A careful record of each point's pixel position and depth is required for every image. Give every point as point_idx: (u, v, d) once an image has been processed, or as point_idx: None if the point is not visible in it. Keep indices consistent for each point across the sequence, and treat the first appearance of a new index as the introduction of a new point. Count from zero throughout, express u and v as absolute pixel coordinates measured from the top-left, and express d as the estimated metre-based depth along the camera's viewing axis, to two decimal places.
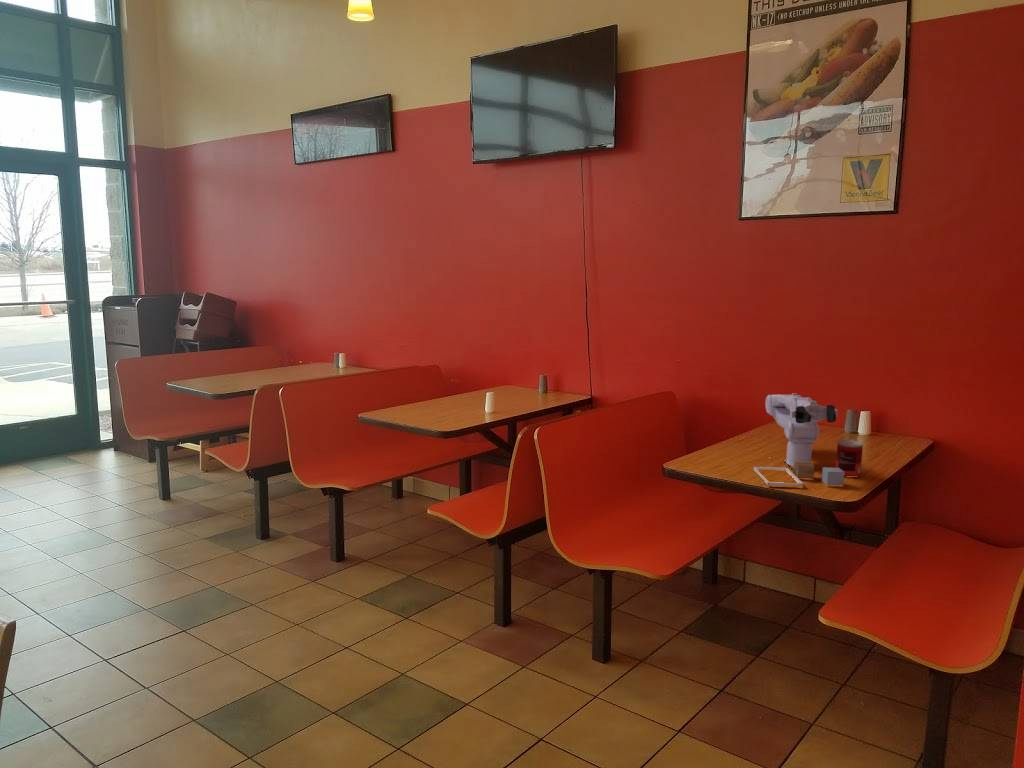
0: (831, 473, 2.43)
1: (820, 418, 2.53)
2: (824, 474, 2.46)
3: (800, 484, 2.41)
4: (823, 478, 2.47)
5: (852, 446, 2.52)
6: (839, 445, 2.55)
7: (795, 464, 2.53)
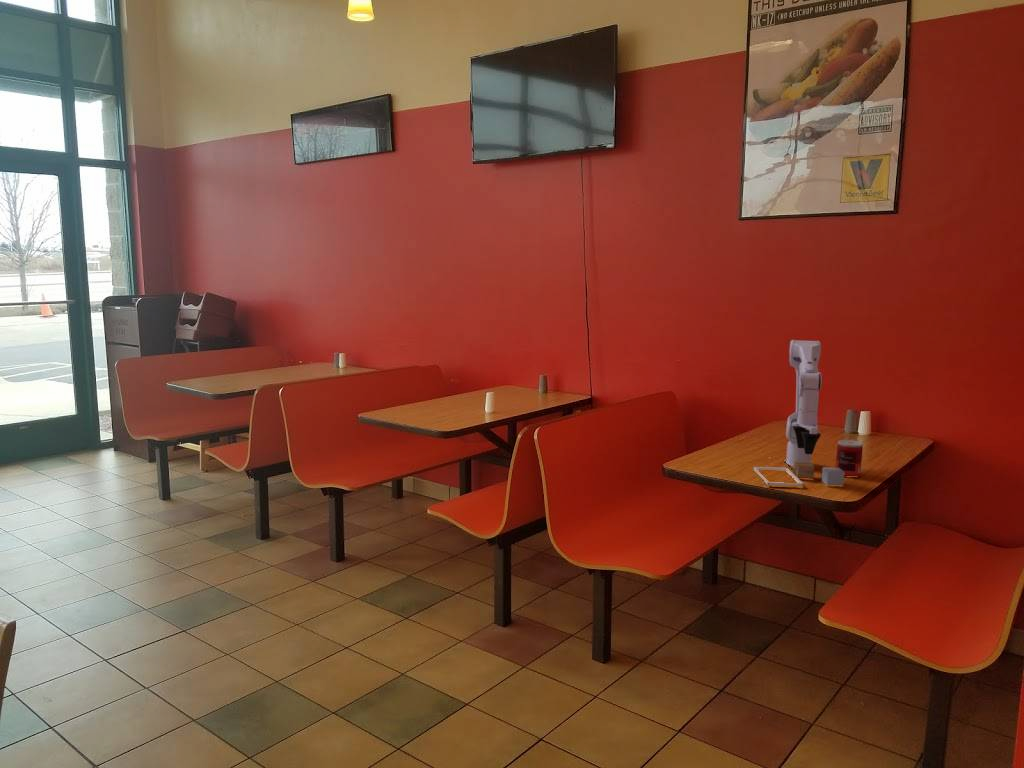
0: (831, 473, 2.43)
1: None
2: (824, 474, 2.46)
3: (800, 484, 2.41)
4: (823, 478, 2.47)
5: (852, 446, 2.52)
6: (839, 445, 2.55)
7: (795, 464, 2.53)
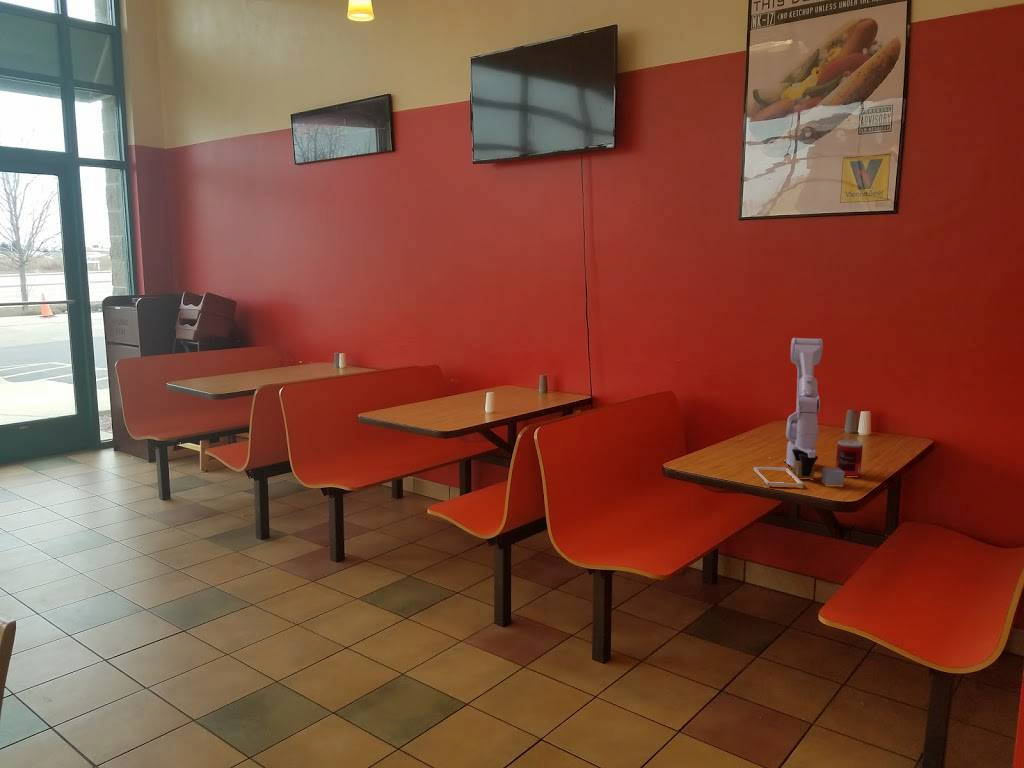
0: (831, 473, 2.43)
1: None
2: (824, 474, 2.46)
3: (800, 484, 2.41)
4: (823, 478, 2.47)
5: (852, 446, 2.52)
6: (839, 445, 2.55)
7: (795, 464, 2.53)
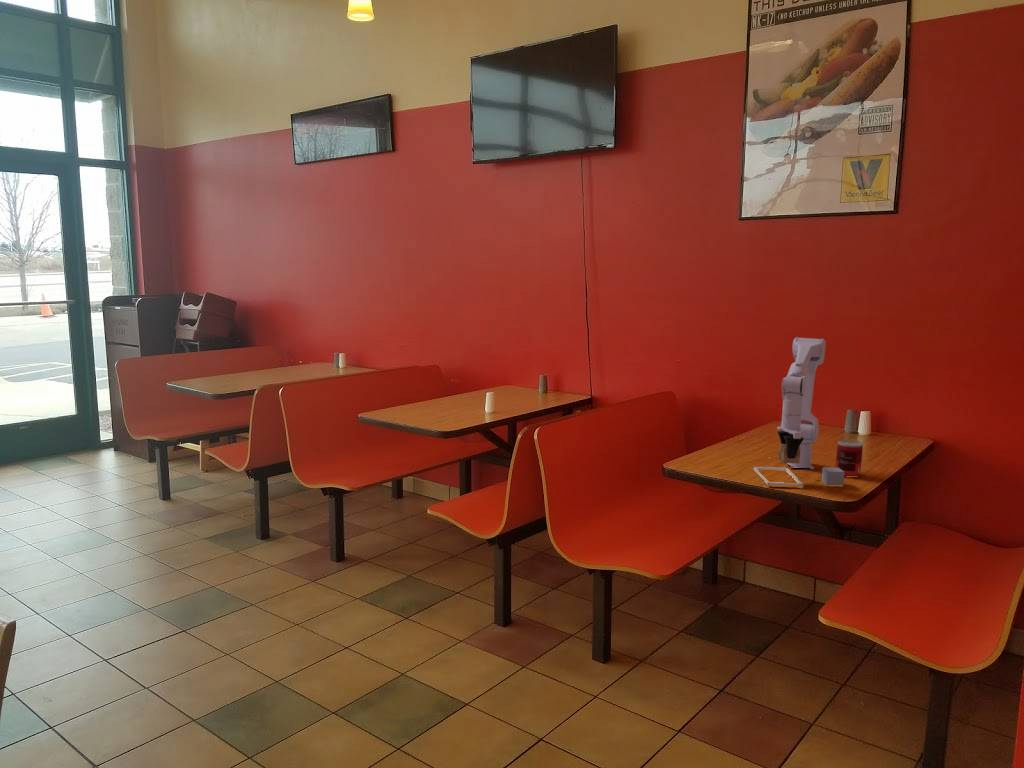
0: (831, 473, 2.43)
1: None
2: (824, 474, 2.46)
3: (800, 484, 2.41)
4: (823, 478, 2.47)
5: (852, 446, 2.52)
6: (839, 445, 2.55)
7: (781, 447, 2.47)
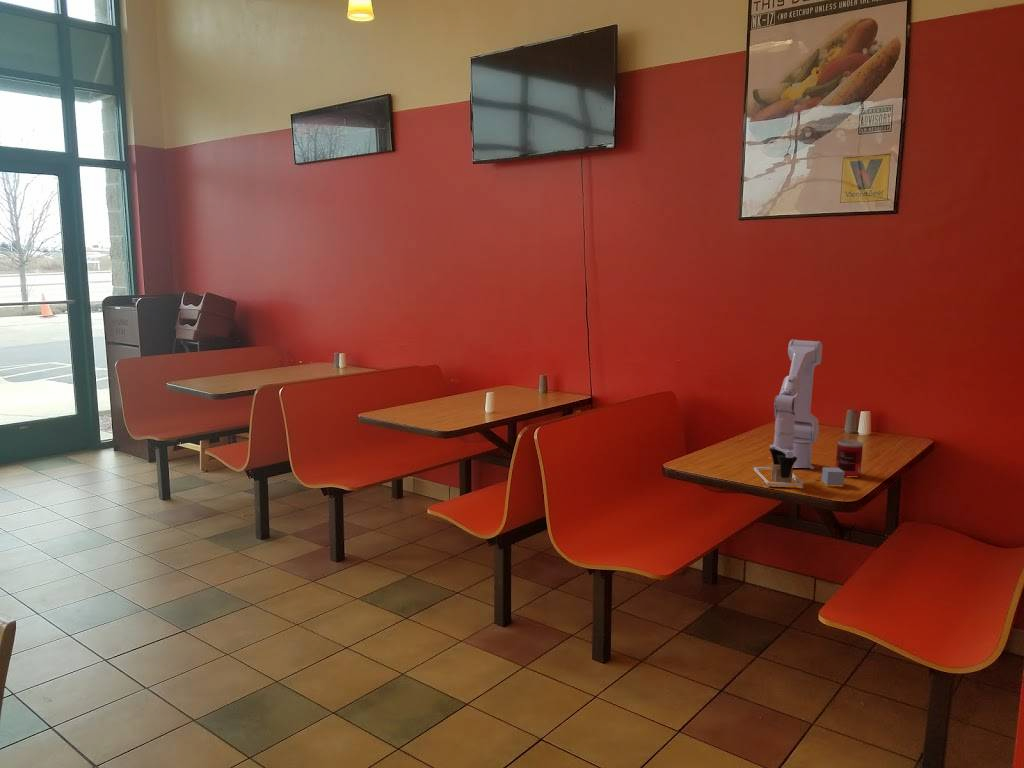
0: (831, 473, 2.43)
1: None
2: (824, 474, 2.46)
3: (800, 484, 2.41)
4: (823, 478, 2.47)
5: (852, 446, 2.52)
6: (839, 445, 2.55)
7: (773, 468, 2.47)
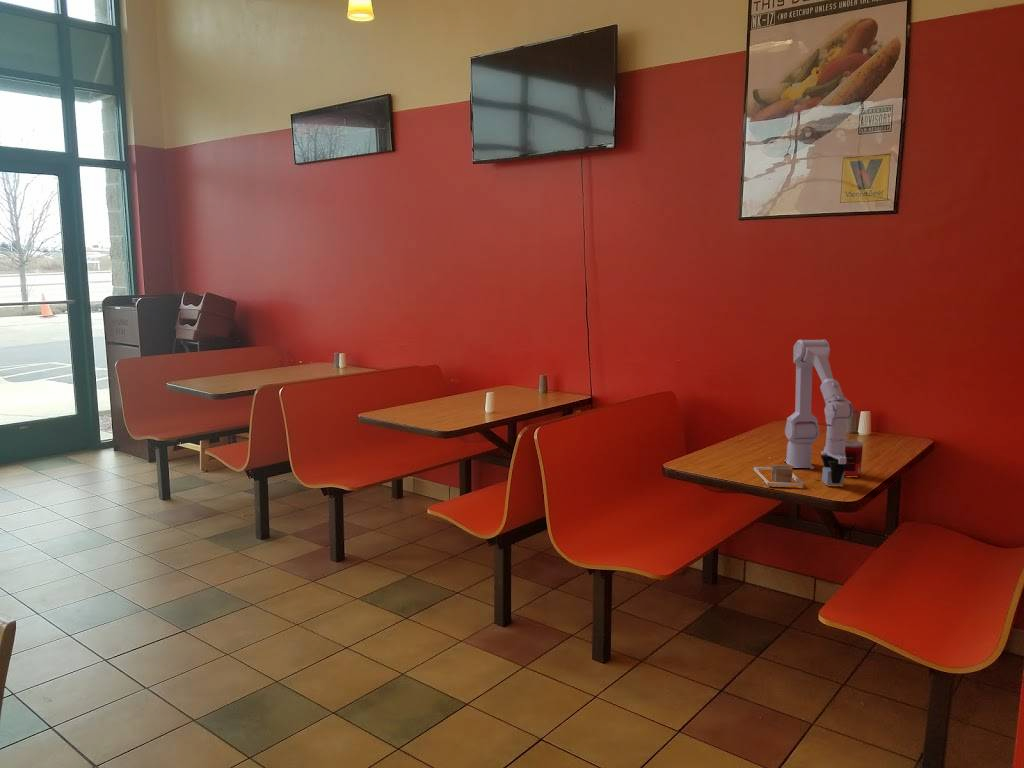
0: None
1: None
2: (824, 474, 2.46)
3: (800, 484, 2.41)
4: (823, 478, 2.47)
5: (852, 446, 2.52)
6: None
7: (773, 468, 2.47)
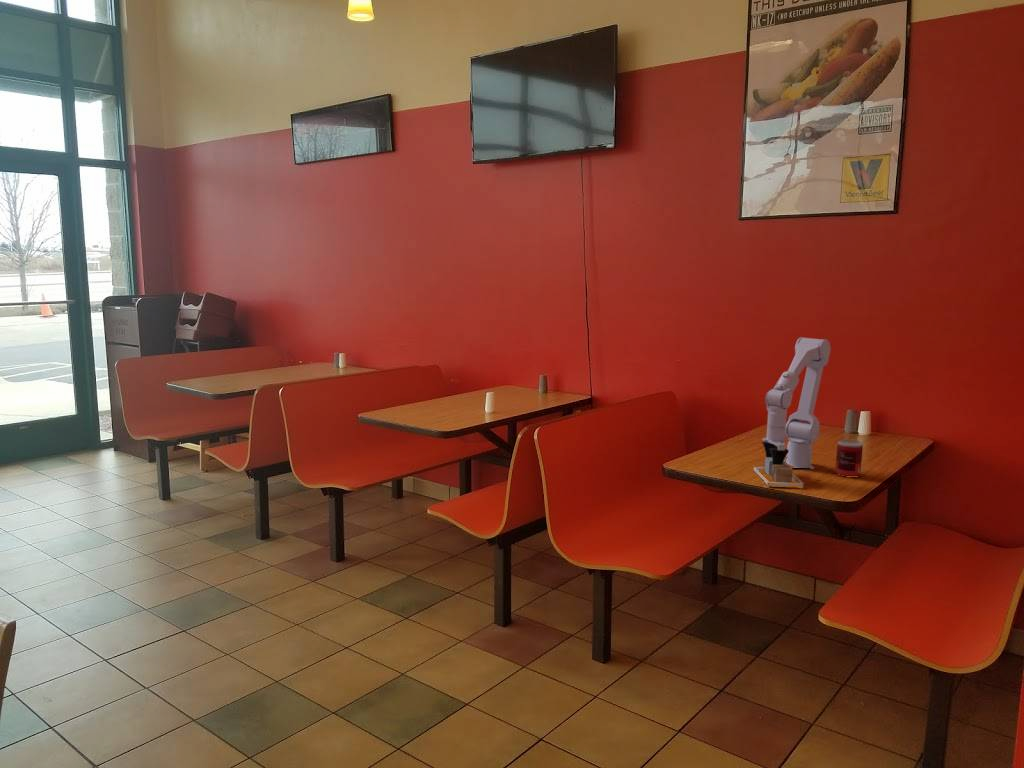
0: (772, 462, 2.52)
1: None
2: (766, 463, 2.55)
3: (800, 484, 2.41)
4: (765, 468, 2.56)
5: (852, 446, 2.52)
6: (839, 445, 2.55)
7: (773, 468, 2.47)
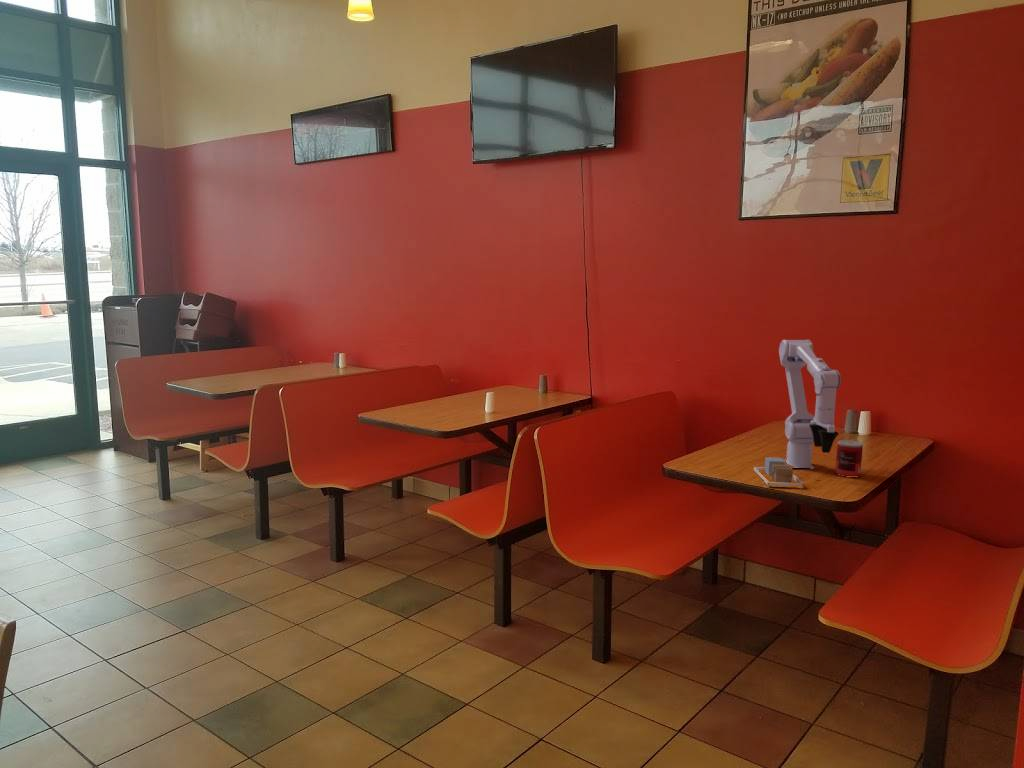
0: (772, 462, 2.52)
1: None
2: (766, 463, 2.55)
3: (800, 484, 2.41)
4: (765, 468, 2.56)
5: (852, 446, 2.52)
6: (839, 445, 2.55)
7: (773, 468, 2.47)
